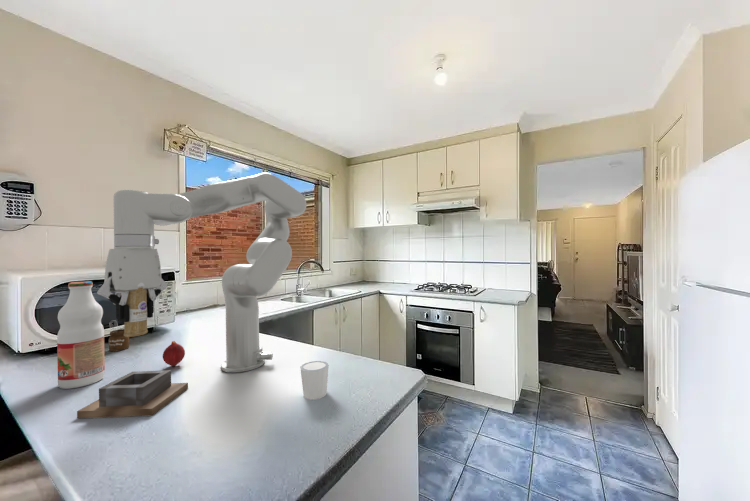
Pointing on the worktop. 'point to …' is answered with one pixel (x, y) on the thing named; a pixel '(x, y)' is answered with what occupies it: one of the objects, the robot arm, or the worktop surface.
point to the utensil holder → (118, 339)
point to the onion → (173, 354)
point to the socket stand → (134, 395)
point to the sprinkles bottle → (136, 313)
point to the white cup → (314, 379)
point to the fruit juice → (80, 338)
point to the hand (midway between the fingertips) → (135, 318)
